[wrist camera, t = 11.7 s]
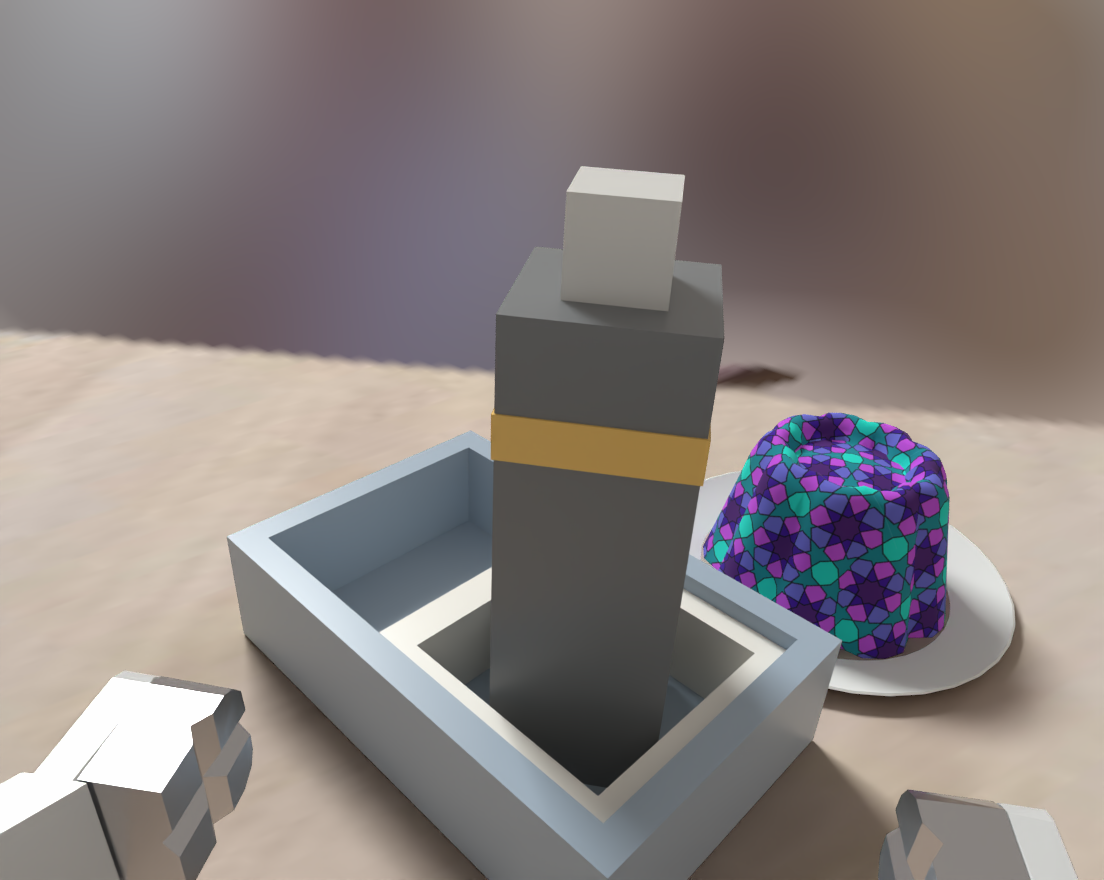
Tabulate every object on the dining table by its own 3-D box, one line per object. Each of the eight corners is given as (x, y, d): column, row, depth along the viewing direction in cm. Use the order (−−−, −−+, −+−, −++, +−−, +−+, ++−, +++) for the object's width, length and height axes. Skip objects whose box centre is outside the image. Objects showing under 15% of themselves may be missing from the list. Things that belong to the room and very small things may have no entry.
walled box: (244, 633, 26) (226, 536, 24) (470, 515, 31) (470, 430, 30) (593, 984, 17) (607, 878, 16) (812, 739, 23) (842, 640, 21)
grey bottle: (486, 769, 21) (494, 201, 14) (517, 652, 25) (536, 150, 18) (651, 796, 21) (746, 224, 14) (659, 674, 24) (738, 167, 17)
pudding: (681, 460, 36) (698, 346, 34) (986, 523, 33) (1031, 404, 31) (608, 650, 26) (624, 510, 24) (1034, 764, 23) (1107, 618, 21)
